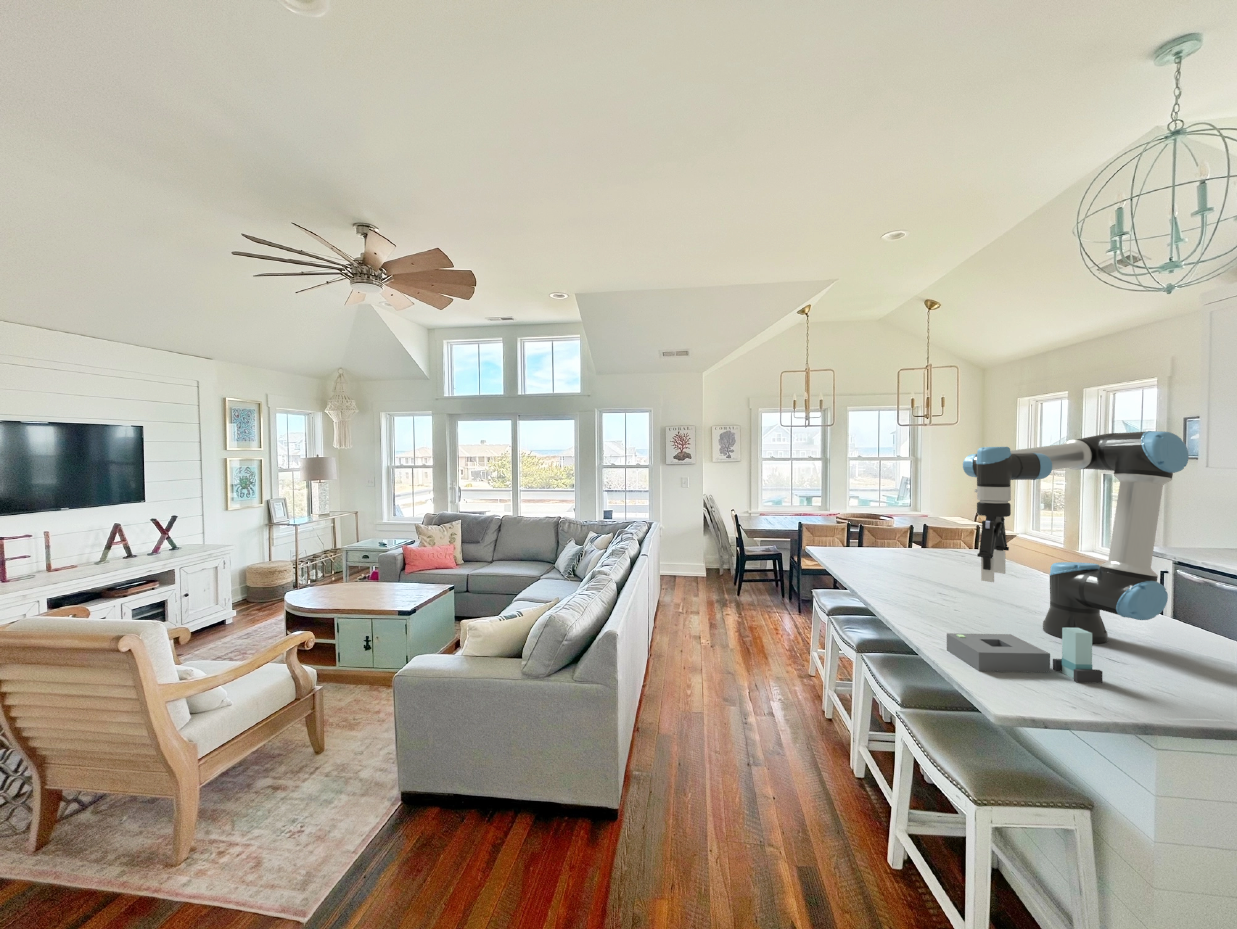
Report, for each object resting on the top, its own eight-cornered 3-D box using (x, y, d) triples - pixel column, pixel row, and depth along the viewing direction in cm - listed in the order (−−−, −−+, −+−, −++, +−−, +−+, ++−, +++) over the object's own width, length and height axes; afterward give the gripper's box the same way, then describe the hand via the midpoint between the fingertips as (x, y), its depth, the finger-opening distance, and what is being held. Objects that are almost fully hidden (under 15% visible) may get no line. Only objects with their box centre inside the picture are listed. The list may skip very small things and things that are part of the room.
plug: (1078, 673, 127) (1078, 627, 127) (1092, 680, 123) (1092, 633, 123) (1061, 672, 128) (1061, 627, 127) (1075, 679, 124) (1075, 633, 123)
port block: (1010, 651, 142) (1010, 633, 142) (1050, 672, 128) (1050, 652, 128) (946, 650, 143) (946, 632, 143) (978, 671, 129) (978, 651, 129)
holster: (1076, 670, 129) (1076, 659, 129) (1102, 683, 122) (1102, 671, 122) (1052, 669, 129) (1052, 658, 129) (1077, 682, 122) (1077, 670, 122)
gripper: (987, 497, 147) (988, 567, 147) (965, 504, 130) (965, 582, 131) (1019, 499, 141) (1019, 571, 142) (999, 506, 125) (1000, 587, 125)
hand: (993, 577), depth 136 cm, fingers open, 13 cm apart
